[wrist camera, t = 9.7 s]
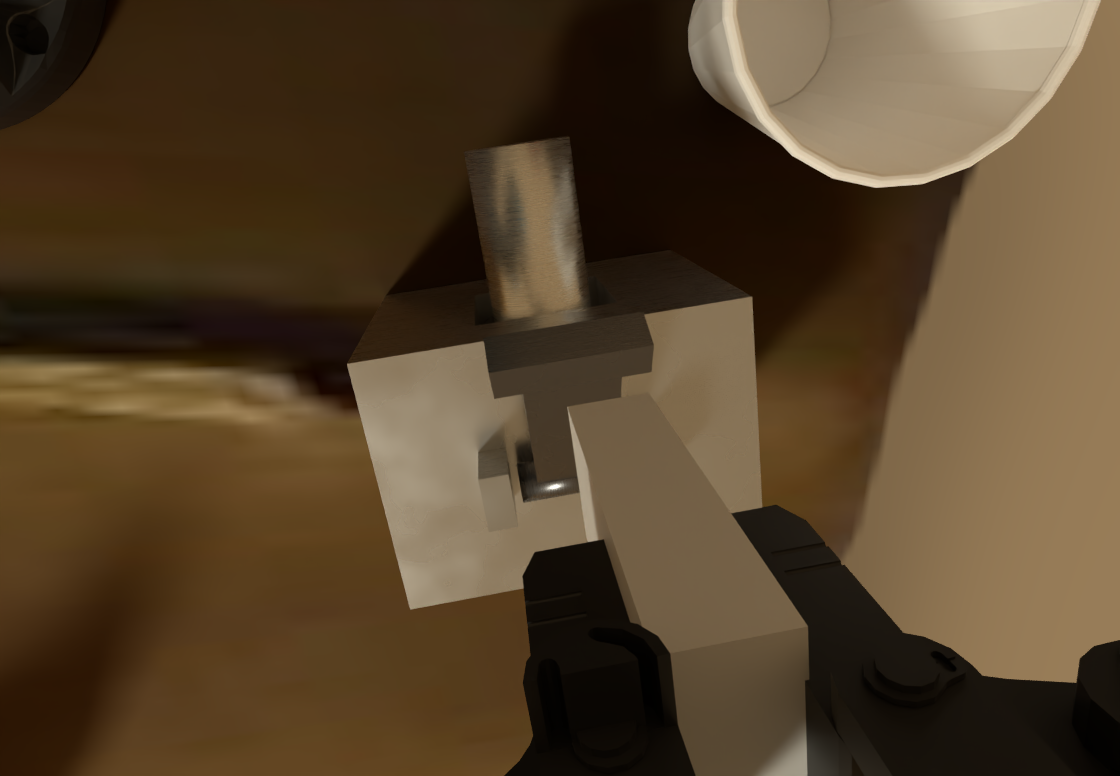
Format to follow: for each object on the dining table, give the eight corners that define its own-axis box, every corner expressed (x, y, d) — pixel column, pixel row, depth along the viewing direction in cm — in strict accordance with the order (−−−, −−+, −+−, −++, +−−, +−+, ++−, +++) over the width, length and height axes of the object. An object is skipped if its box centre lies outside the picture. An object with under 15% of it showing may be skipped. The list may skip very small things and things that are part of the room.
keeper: (482, 335, 19) (488, 376, 18) (642, 308, 19) (654, 348, 19) (513, 476, 26) (519, 510, 25) (632, 454, 26) (640, 488, 25)
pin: (436, 154, 30) (427, 159, 24) (587, 132, 30) (615, 130, 24) (506, 519, 36) (512, 596, 30) (630, 497, 36) (662, 568, 30)
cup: (792, -191, 29) (1000, -405, 18) (932, 49, 33) (1179, 2, 22) (577, 17, 31) (639, -55, 19) (734, 223, 35) (864, 266, 23)
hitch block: (385, 295, 34) (334, 385, 22) (670, 249, 35) (777, 311, 23) (428, 479, 38) (404, 648, 25) (686, 434, 38) (786, 575, 26)
